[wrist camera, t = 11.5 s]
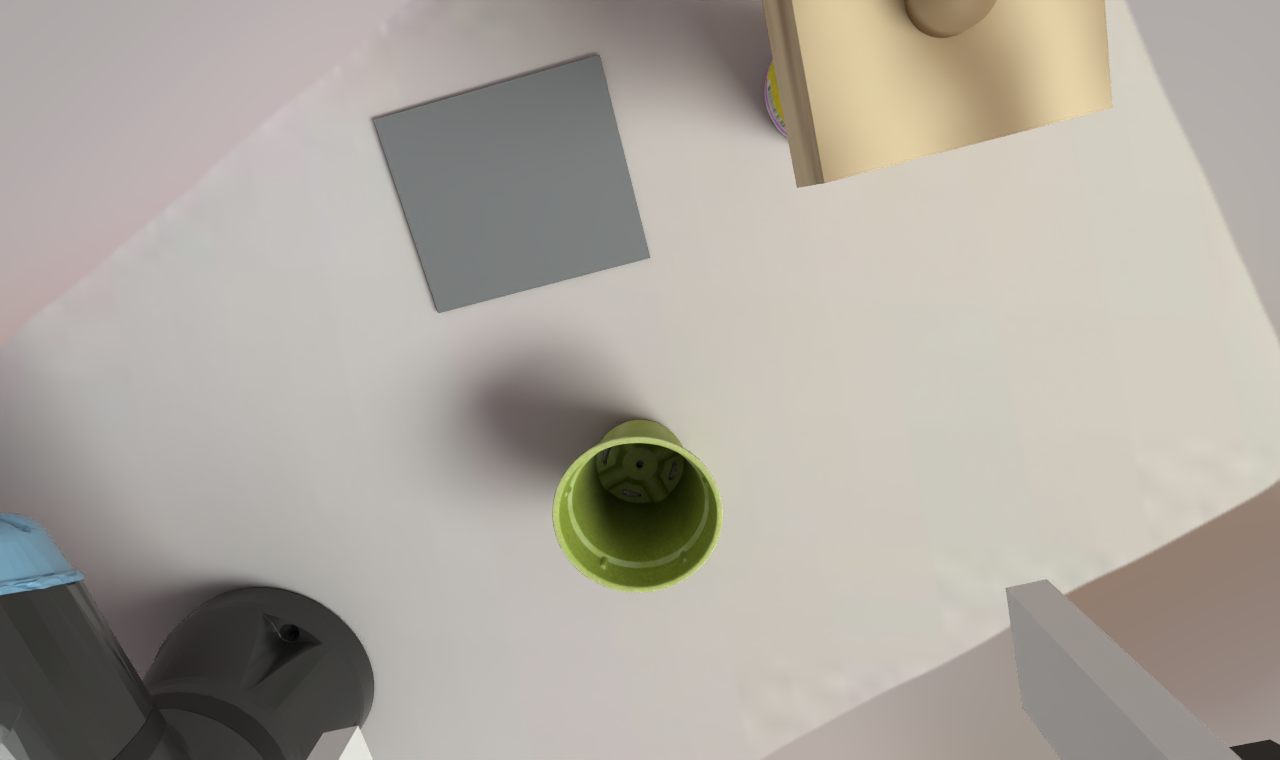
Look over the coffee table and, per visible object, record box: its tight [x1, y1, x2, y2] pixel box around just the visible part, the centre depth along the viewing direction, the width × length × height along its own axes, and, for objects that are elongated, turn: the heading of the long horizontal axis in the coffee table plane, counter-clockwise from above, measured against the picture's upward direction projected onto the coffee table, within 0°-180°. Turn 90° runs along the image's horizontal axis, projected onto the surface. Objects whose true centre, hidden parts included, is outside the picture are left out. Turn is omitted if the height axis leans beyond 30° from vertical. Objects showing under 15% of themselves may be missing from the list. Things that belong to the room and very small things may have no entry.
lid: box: [762, 0, 1112, 188], centre depth 23 cm, size 10×10×5 cm
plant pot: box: [552, 420, 723, 593], centre depth 40 cm, size 9×9×9 cm
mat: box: [374, 55, 650, 313], centre depth 40 cm, size 14×12×1 cm
